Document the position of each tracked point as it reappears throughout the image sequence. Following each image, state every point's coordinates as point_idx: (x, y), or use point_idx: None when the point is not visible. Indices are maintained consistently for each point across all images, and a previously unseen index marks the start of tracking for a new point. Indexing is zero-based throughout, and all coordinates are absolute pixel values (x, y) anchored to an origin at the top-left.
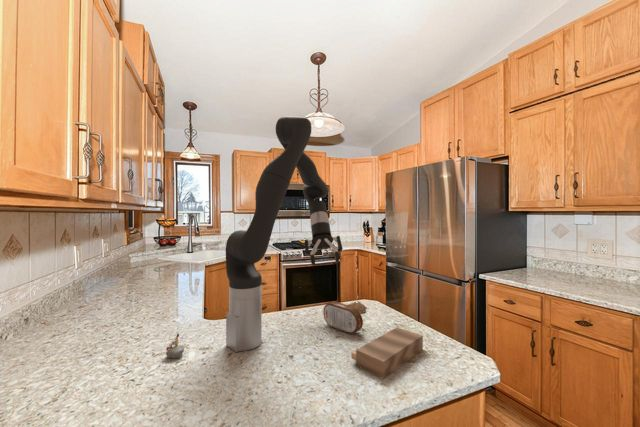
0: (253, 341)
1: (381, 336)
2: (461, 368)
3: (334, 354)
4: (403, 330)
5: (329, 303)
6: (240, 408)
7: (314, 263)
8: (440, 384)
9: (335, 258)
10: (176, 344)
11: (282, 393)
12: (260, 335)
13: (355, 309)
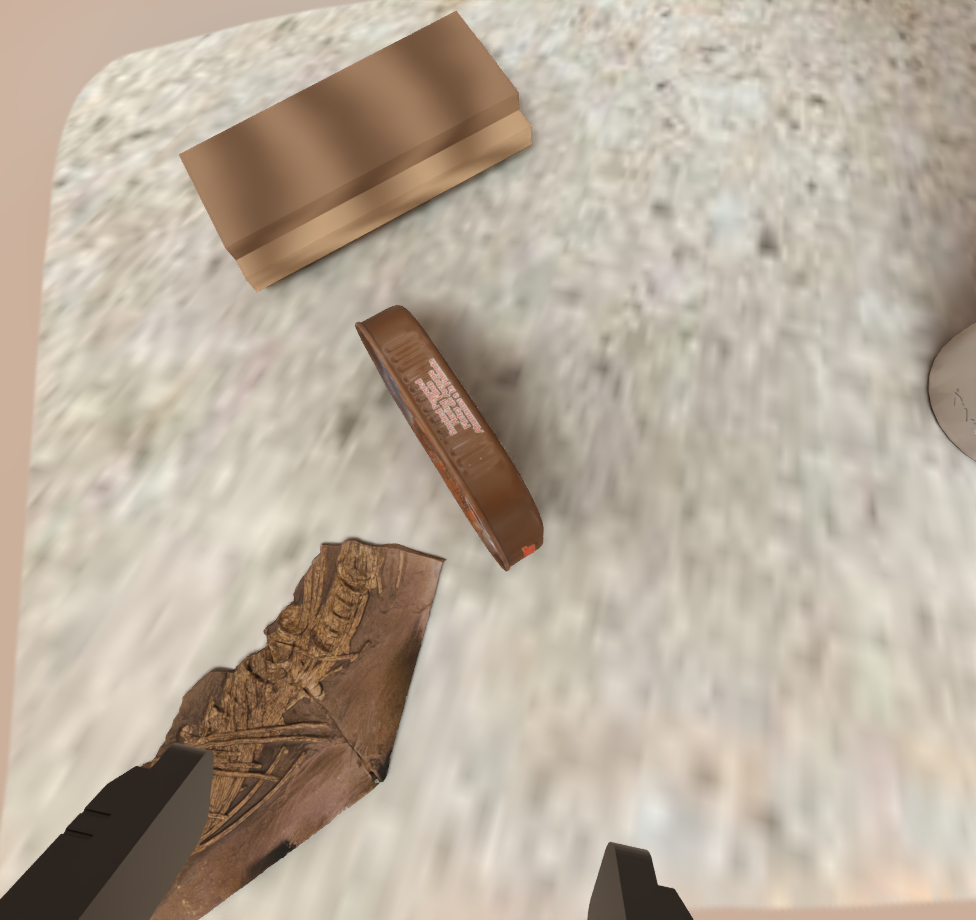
0: None
1: (356, 174)
2: (187, 81)
3: (577, 227)
4: (222, 209)
5: (509, 469)
6: (933, 12)
7: (628, 853)
8: (314, 27)
9: (166, 821)
10: None
11: (805, 51)
12: (962, 350)
13: (372, 331)
